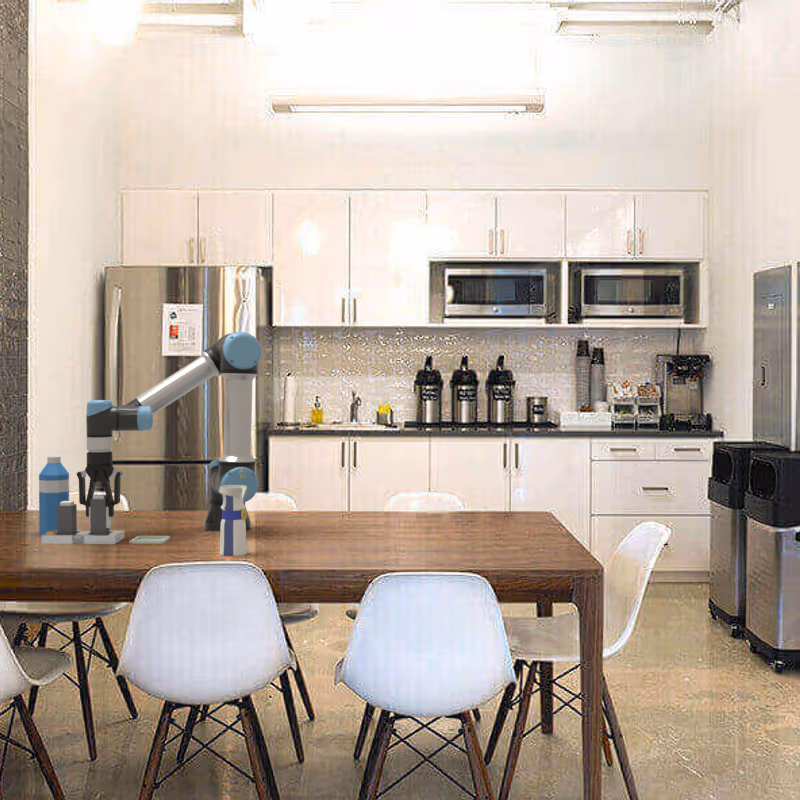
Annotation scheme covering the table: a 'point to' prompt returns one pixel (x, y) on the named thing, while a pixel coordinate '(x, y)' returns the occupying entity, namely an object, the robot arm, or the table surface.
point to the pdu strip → (83, 537)
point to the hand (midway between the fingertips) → (100, 527)
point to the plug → (98, 515)
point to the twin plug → (67, 518)
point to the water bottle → (52, 493)
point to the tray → (149, 540)
